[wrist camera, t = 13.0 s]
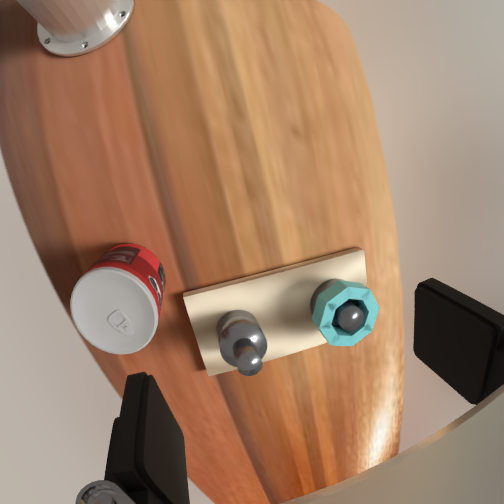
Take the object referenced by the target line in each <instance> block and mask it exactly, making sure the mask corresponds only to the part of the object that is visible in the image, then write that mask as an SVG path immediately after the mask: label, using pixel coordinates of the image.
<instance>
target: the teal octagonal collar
mask: <svg viewBox="0 0 504 504" xmlns="http://www.w3.org/2000/svg"><path fill="white" fill-rule="evenodd" d="M348 299H357V301H358V303H359V307H358V308H359V309H361V310H362V312H363V314H364V319H363V322H362V324H361V325H360V327H359V328H357V329H356V330H354V331H346V330H344V329H343V328H342V327H333V326H332V325H331V324H332V320H333V317H334V313H335V310H336V308H338V307H339V306H340V305H342V304H343V303H344V302H345V301H347V300H348ZM378 311H379V306H378V304H377V302H376V300H375V298H374V296H373V294H372V292H371V290H370V289H369V288H367V287H366V286H364V285H363V284H361V283H358V282H351V281H343V280H338V281H337V282H335V283H334V284H333V285H331V286H330V287H329V288H327V289H326V290H324V291H323V292H322V293H320V294H319V295H318V297H317V301H316V305H315V309H314V312H313V316H312V320H313V322H314V323H315V325H316V326H317V328H318V329H319V331H320V332H321V334H322V335H323V337H324V338H325V339H326V340H327V341H328V343H329V344H330V345H332V346H353V345H355V344H356V343H357V342H358V341H360V340H361V339H362V338H364V337H365V336H366V335H367V334H369V333H370V332H371V331H372V329H373V326H374V323H375V320H376V317H377V314H378Z"/></svg>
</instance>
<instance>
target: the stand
mask: <svg viewBox="0 0 504 504" xmlns="http://www.w3.org/2000/svg"><path fill="white" fill-rule="evenodd" d="M216 332H217V338H218V343H219V348H220V353H221V356H222V358H223V359H224V361H225V362H227V363H228V364H229V365H231V366H234V367H237V368H238V371H239V372H240V373H241V374H243V375H245V376H252V375H255V374H257V373H258V372H259V371H260V370H261V368H262V361H261V359H262V358H263V357H264V355H265V354H266V351H267V340H266V338H265V336H264V334H263V331H262V329H261V327H260V325H259V323H258V321H257V319H256V318H255V316H254V315H253V314H251V313H250V312H248V311H245V310H233V311H230V312H228V313H226V314H225V315H223V316H222V317H221V318H220V320H219V321H218V324H217V327H216Z"/></svg>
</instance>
